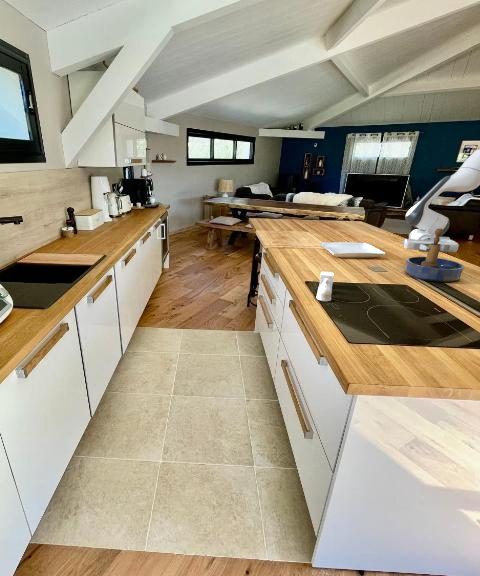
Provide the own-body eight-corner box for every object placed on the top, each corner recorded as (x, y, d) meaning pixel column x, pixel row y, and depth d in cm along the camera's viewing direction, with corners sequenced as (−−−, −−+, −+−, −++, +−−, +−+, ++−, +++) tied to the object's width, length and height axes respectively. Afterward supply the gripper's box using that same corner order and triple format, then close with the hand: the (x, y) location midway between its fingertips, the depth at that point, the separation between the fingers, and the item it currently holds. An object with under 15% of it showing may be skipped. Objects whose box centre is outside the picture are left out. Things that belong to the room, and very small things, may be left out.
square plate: (364, 248, 191) (365, 241, 190) (385, 260, 166) (387, 252, 164) (318, 247, 194) (319, 241, 192) (332, 259, 168) (333, 252, 167)
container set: (319, 283, 134) (320, 271, 132) (332, 284, 132) (334, 272, 130) (315, 300, 117) (317, 286, 115) (330, 302, 115) (333, 288, 113)
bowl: (450, 270, 147) (453, 258, 145) (468, 285, 129) (472, 271, 127) (399, 267, 154) (402, 255, 152) (410, 280, 136) (413, 266, 134)
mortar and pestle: (417, 265, 145) (427, 226, 138) (433, 266, 143) (444, 227, 137) (424, 270, 139) (435, 229, 132) (440, 271, 137) (452, 230, 131)
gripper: (401, 234, 151) (408, 240, 139) (453, 237, 144) (465, 243, 132) (398, 247, 154) (405, 254, 142) (449, 250, 147) (460, 258, 135)
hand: (434, 249), depth 137 cm, fingers closed on mortar and pestle, 4 cm apart
